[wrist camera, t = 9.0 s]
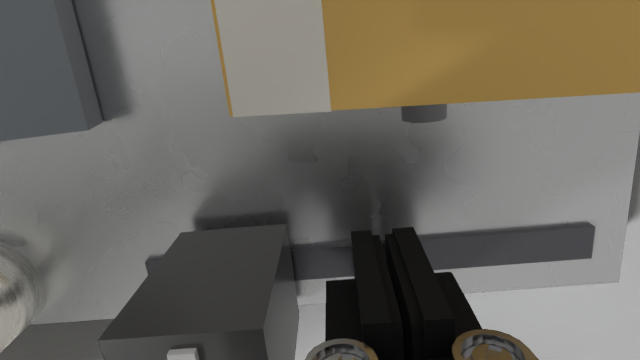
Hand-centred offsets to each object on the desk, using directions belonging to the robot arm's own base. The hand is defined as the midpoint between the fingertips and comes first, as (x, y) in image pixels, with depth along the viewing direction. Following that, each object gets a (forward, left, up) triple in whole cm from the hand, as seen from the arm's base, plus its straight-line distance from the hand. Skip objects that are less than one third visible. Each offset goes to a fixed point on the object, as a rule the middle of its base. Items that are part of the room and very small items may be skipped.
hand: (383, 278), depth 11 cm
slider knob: (0, +4, -1) cm, 4 cm away
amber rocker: (+7, -1, 0) cm, 7 cm away
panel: (+4, +5, -3) cm, 7 cm away
